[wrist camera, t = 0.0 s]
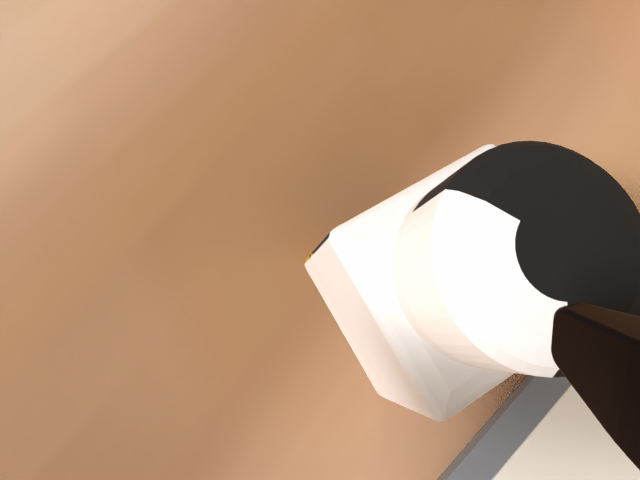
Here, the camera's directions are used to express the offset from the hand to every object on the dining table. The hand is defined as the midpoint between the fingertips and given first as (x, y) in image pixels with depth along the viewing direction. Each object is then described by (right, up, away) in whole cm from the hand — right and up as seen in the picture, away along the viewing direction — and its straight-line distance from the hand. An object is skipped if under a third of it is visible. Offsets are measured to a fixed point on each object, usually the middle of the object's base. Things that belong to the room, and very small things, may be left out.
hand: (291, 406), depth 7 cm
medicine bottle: (+4, 0, +16) cm, 17 cm away
